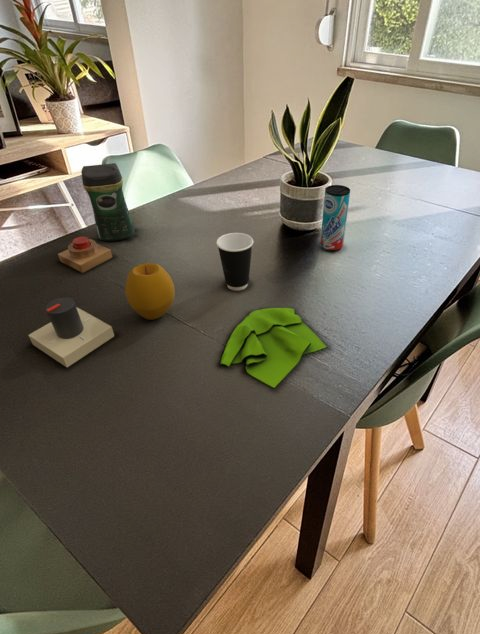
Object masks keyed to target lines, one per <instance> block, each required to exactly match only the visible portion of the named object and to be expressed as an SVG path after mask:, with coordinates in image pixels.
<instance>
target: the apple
mask: <svg viewBox="0 0 480 634" xmlns="http://www.w3.org/2000/svg"><path fill="white" fill-rule="evenodd" d="M124 291H125V297H126V299H127V303H128V304H129V306H130V307H131V308H132V310H133V311H135V312H136V313H137V314H138V315H139V316H140V317H142V318H144V319H146V320H156V319H159V318H161V317H163V316H165V314H166V313H167V312H168V311H169V309H170V308H171V306H172V305H173V303H174V299H175V296H176V293H175V292H176V291H175V284H174V282H173V279H172V277H171V276H170V275H169V273H168V272H167V271H166V270H165V269H164V268H163V266H161V265H160V264H157V263H152V262H144V263H142V264H139V265H136V266H135V267H133V268H132V269H130V271H129V273H128V275H127V277H126V282H125V290H124Z"/></svg>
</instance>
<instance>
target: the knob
mask: <svg viewBox="0 0 480 634" xmlns="http://www.w3.org/2000/svg"><path fill="white" fill-rule="evenodd" d="M76 307H77V305H76V303H75V300H74V299H72V298H70V297H58V298H55V299H53V300H51V301H49V302H48V303H47V304H46V306H45V312H46V314H47V316H48V318H49V321H50V322H51V323H52V325H53V328H54V330H55V332H56V334H57V336H58V337H60V338H63V339H69V338H73V337H76V336H78V335H79V334H80V333H81V332H82V331H83V329H84V327H83V324H82V321H81V319H80V316H79V313H78V311H77V308H78V307H77V308H76Z"/></svg>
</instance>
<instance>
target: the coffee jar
mask: <svg viewBox="0 0 480 634" xmlns="http://www.w3.org/2000/svg"><path fill="white" fill-rule="evenodd" d="M120 171H121V170H120V169H119V167H118V164H117V163H116V162H115V163H114V162H112V163H103V164H92V165H84V166H82V168H81V172H80V173H81V180H82V181H81V182H82V186H83V188H84V191H86V193H87V195H88V197H89V200H90V204H91V208H92V212H93V218H94V223H95V227H96V231H97V232H96V233H97V235H98V238H99V239H100V240H101V241H103V242H114V241H121V240H127V239H130V238H132V237H133V236H134V235H135V232H136V230H135V225H134V222H133V220H132V216H131V213H130V210H129V208H128V205H127V202H126V198H125V195H124V191H123V186H124V181H123V176H122V174H121V172H120Z"/></svg>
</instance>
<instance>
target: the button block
mask: <svg viewBox="0 0 480 634" xmlns="http://www.w3.org/2000/svg"><path fill="white" fill-rule="evenodd" d="M88 240H89V243H90V247H88V248H86V249H81V250H78V249H75V247H74V244H73V241H72V242H70V243H69V245H68V246H67V249H66V250H63V251H61V252H60V253H57V256H58V259H59V262H60V263H62V264H64V265H66V266H67V267H70V268H72V269H74V270H76V271H78V272H80V273H82V274H83V273H86V272H87V271H89V270H91V269H93V268H95V267H97V266H99V265H101V264H103V263H104V262H106V261H109V260H110V259H112V258H113V253H112V250H111V249H110V248H107V247H105V246H103V245H101V244H98V243H97V242H96V240H94V239H91V238H88Z"/></svg>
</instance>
